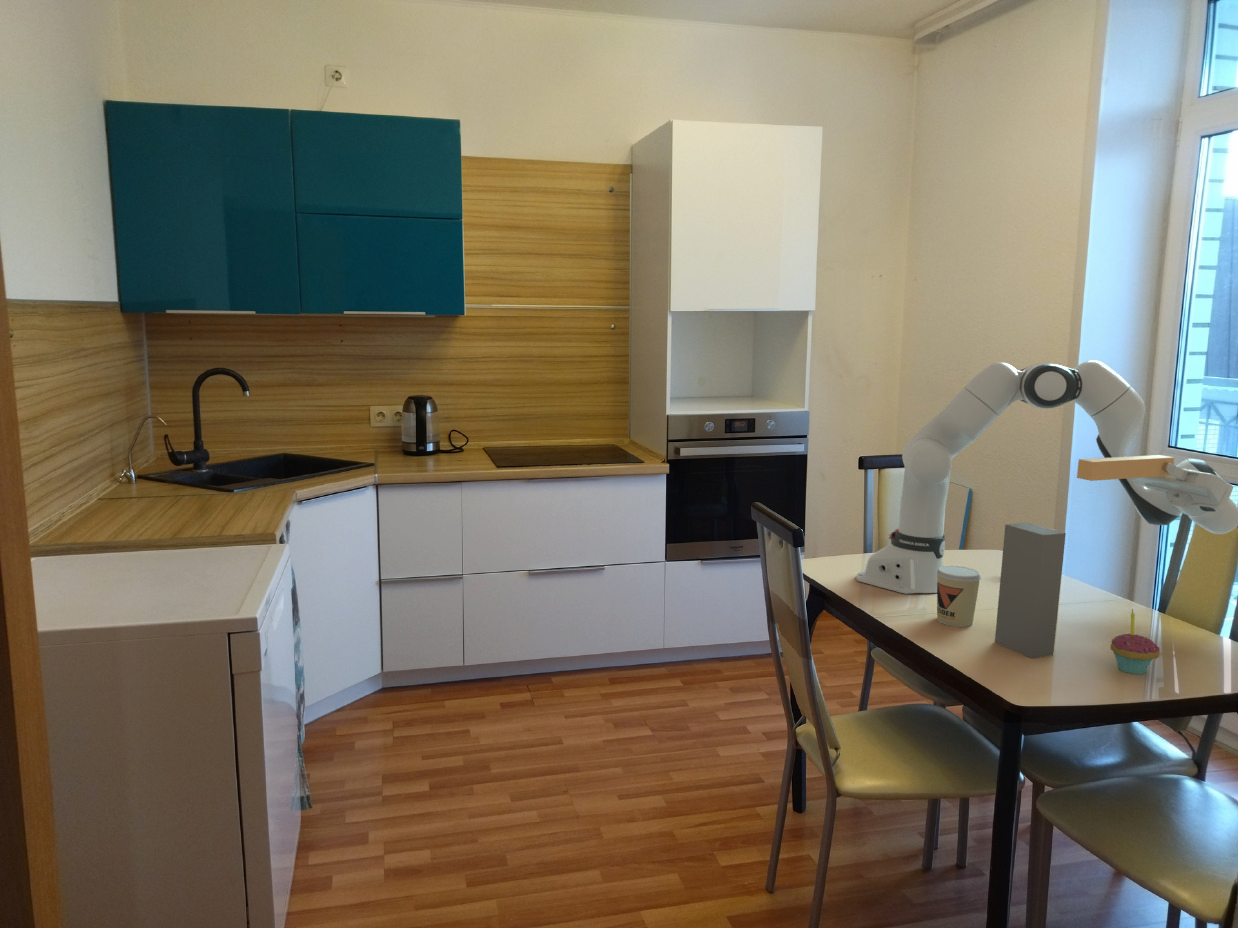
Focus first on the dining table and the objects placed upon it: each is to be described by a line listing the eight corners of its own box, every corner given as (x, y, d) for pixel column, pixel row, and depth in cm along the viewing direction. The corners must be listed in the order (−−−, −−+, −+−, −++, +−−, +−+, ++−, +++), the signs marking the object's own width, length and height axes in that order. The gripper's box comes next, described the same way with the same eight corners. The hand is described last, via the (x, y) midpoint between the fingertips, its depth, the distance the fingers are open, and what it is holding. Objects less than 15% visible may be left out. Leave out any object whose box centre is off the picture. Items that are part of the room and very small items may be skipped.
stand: (1016, 638, 194) (1027, 522, 189) (1053, 654, 184) (1065, 533, 180) (994, 641, 191) (1005, 524, 187) (1031, 658, 182) (1043, 535, 178)
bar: (1157, 472, 197) (1159, 454, 196) (1172, 475, 193) (1174, 457, 193) (1076, 477, 188) (1078, 459, 187) (1091, 480, 185) (1093, 461, 184)
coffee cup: (924, 617, 207) (928, 567, 205) (955, 612, 211) (959, 563, 209) (954, 630, 198) (958, 578, 197) (985, 625, 202) (990, 574, 200)
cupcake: (1098, 661, 181) (1105, 605, 179) (1138, 661, 182) (1144, 605, 180) (1126, 678, 173) (1132, 619, 171) (1167, 677, 173) (1174, 619, 171)
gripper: (1153, 472, 209) (1119, 444, 203) (1241, 487, 190) (1206, 457, 184) (1141, 495, 208) (1107, 468, 203) (1228, 513, 190) (1193, 484, 184)
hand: (1155, 463), depth 194 cm, fingers closed on bar, 4 cm apart
